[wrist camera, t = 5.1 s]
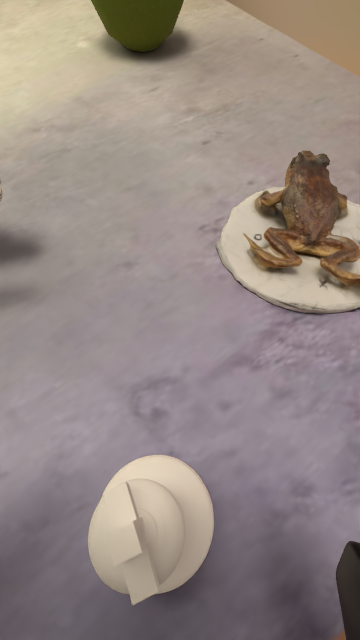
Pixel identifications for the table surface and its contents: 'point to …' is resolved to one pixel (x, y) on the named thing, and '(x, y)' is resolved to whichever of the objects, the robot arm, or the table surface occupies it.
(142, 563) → the chess piece
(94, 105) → the table surface
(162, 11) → the apple
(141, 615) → the table surface
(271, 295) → the frog figurine
